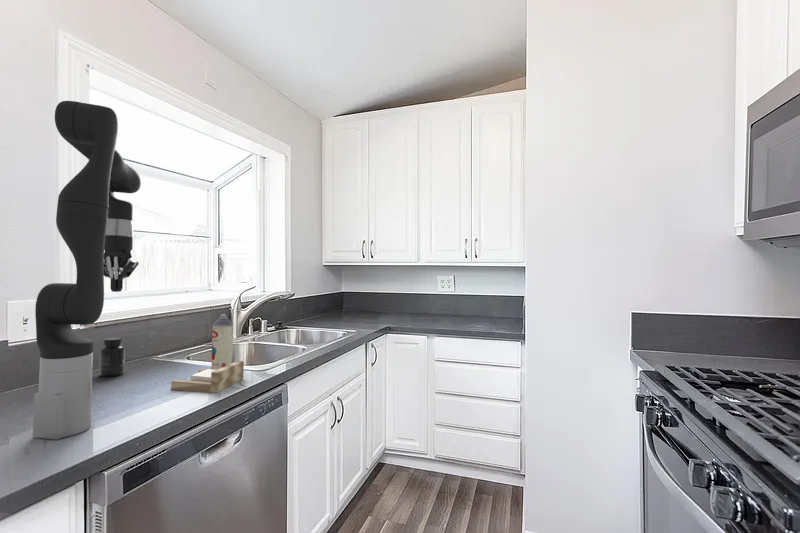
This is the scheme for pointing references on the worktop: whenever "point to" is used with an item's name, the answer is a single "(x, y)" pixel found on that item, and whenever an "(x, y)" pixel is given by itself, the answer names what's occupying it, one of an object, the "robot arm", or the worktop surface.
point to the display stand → (213, 379)
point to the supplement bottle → (112, 358)
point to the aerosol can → (222, 342)
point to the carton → (202, 376)
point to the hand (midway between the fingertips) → (116, 291)
